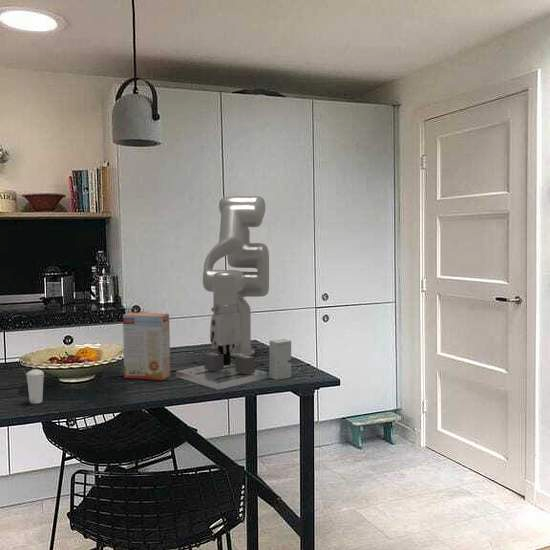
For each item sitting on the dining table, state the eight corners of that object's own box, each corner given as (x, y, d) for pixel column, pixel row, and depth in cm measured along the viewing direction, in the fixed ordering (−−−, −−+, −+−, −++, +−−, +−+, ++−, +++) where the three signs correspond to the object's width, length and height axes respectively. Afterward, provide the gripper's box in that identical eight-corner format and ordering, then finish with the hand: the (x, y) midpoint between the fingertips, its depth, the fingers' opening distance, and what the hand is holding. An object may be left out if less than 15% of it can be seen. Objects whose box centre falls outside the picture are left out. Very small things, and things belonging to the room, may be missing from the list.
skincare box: (276, 380, 195) (276, 342, 194) (268, 377, 199) (268, 340, 198) (292, 377, 199) (292, 340, 198) (284, 374, 202) (284, 338, 201)
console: (176, 377, 200) (175, 370, 200) (224, 367, 213) (224, 361, 213) (217, 389, 184) (217, 382, 184) (267, 378, 197) (267, 372, 197)
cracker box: (171, 376, 200) (170, 313, 199) (162, 381, 194) (161, 315, 193) (133, 373, 204) (131, 311, 203) (123, 378, 199) (122, 313, 197)
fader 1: (204, 368, 201) (204, 353, 200) (214, 366, 203) (214, 351, 203) (213, 371, 197) (213, 355, 197) (223, 369, 200) (223, 354, 199)
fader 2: (235, 371, 197) (235, 355, 196) (244, 369, 199) (244, 354, 199) (245, 374, 193) (245, 358, 193) (255, 372, 196) (254, 356, 195)
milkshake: (22, 401, 172) (21, 366, 171) (42, 399, 175) (41, 364, 174) (25, 405, 168) (24, 369, 167) (46, 402, 171) (45, 367, 170)
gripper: (214, 312, 194) (214, 370, 195) (249, 308, 204) (249, 363, 206) (199, 310, 199) (200, 366, 201) (235, 306, 210) (235, 359, 211)
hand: (225, 364), depth 203 cm, fingers closed
